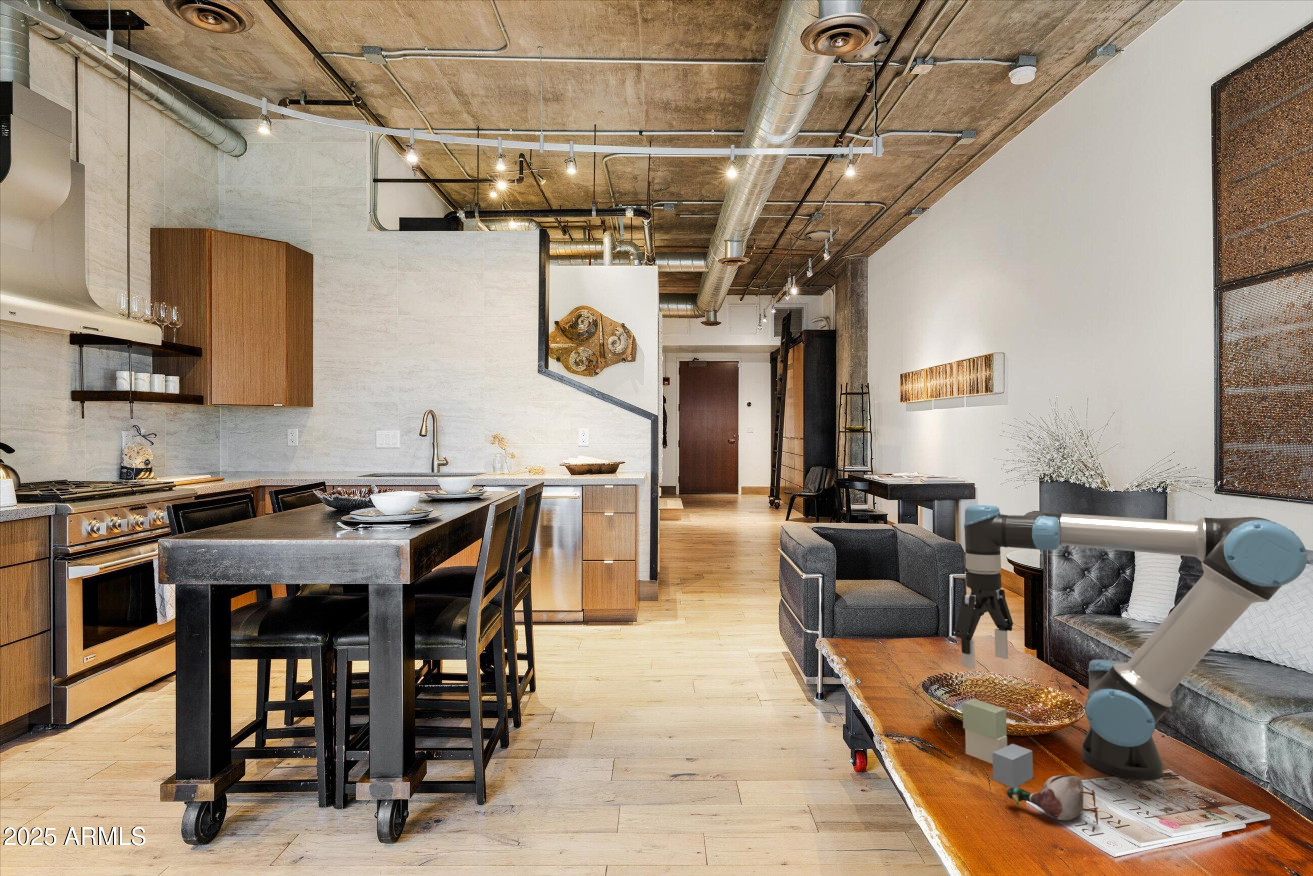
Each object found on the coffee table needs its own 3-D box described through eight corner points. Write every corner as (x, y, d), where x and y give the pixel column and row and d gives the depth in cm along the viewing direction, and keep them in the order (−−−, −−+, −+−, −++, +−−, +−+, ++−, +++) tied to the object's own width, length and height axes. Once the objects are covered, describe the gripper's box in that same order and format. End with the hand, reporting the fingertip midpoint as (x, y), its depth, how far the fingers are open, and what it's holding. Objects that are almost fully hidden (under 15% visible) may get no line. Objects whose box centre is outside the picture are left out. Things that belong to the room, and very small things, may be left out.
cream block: (1007, 762, 154) (1006, 736, 154) (998, 766, 152) (998, 739, 152) (974, 749, 161) (973, 724, 161) (965, 753, 159) (965, 728, 159)
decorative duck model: (1001, 781, 132) (1014, 751, 144) (1006, 820, 131) (1019, 787, 143) (1090, 797, 123) (1097, 764, 135) (1096, 839, 122) (1103, 802, 134)
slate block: (1013, 770, 150) (1012, 743, 150) (1033, 778, 146) (1032, 750, 146) (993, 780, 146) (992, 752, 146) (1013, 788, 142) (1012, 760, 142)
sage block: (1006, 735, 155) (1006, 709, 155) (996, 739, 152) (995, 713, 152) (973, 723, 161) (973, 698, 161) (963, 728, 159) (962, 702, 159)
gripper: (997, 564, 167) (999, 650, 167) (936, 574, 154) (938, 667, 153) (1027, 568, 161) (1029, 657, 160) (967, 579, 148) (969, 676, 147)
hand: (985, 662), depth 157 cm, fingers open, 13 cm apart
